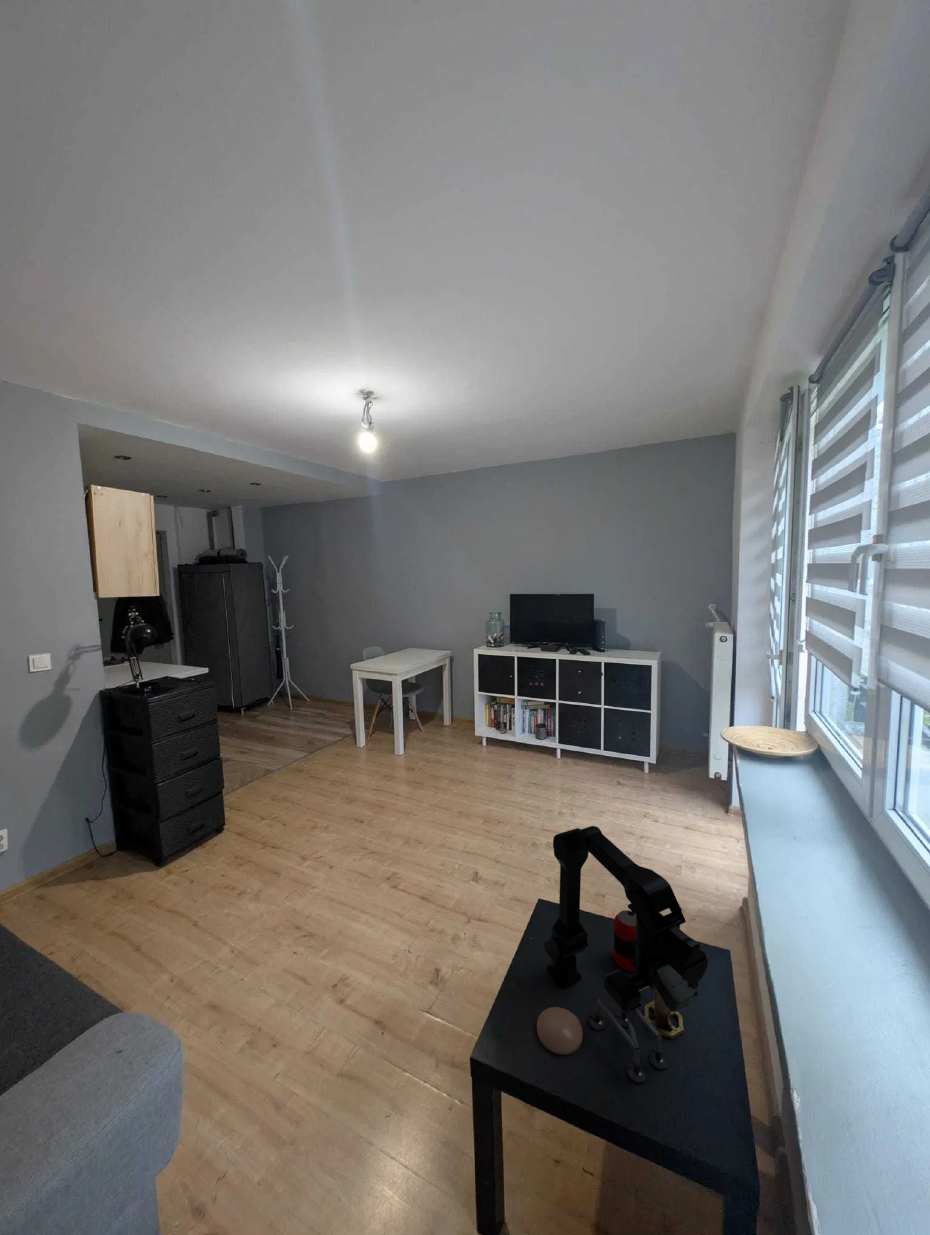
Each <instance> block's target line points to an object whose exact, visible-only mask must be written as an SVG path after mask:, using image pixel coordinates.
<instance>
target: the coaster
mask: <svg viewBox="0 0 930 1235" xmlns="http://www.w3.org/2000/svg"><path fill="white" fill-rule="evenodd" d="M536 1031H537V1032H536V1033H537V1036H538V1039H539V1041H540V1043H541V1044H542V1045H543V1047H544V1048H545V1049H546V1050H548V1051H550V1052H551V1053H554V1054H556V1055H562V1056H566V1055H567V1056H568V1055H570V1054H571V1055H572V1054H573V1053H575V1052H577V1050H578V1049H579V1048H580V1047H581V1045H582V1042H583V1027H582V1024H581V1022H580V1020H579V1019H578V1016H576V1015H575V1014H574V1013H572V1011H570V1010H568V1009H565V1008H563V1007H558V1006H554V1007H553V1006H552V1007H549V1008H546V1009H544V1010H543V1011H541V1013H540V1014H539V1016H538V1017H537V1021H536Z"/></svg>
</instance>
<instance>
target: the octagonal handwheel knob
mask: <svg viewBox="0 0 930 1235" xmlns="http://www.w3.org/2000/svg"><path fill="white" fill-rule="evenodd" d="M653 992H654V993H653V997H654V998H653V1000H652V1001H650V1002H649V1003H646V1004H645V1005H644V1017H645V1018H646V1019H647V1020H648V1021H649V1022H650V1023H651V1025H652V1026H653V1027H654V1028H655V1029H656V1030H657V1031H658V1032H659V1034H660V1035H661V1037H665V1038H668V1039H671V1040H673V1039H675V1038H677V1037H678V1036H680V1035H682V1034H683V1033H684V1024H683V1022H684V1021H683V1020H684V1019H683V1015H682V1014H680V1012H679V1010H678V1011H677V1012H672V1011H671V1010H670V1009H669V1008H668V1007H667V1006H666V1005H665V1003H664V1000H663V998H662V997H661V995H660V994H659V992H658V991H657V989H656V986H655V988H653ZM650 1011H652V1012H653V1016H654V1019H653V1020H651V1019H650V1018H649V1012H650ZM674 1017H675V1018H676V1019H677V1020H678V1027H675V1026H674V1025H673V1023H674ZM660 1025H662V1026H666V1027H667V1028H668V1029H669V1030H665V1029H662V1028H659V1027H658V1026H660Z"/></svg>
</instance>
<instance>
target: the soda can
mask: <svg viewBox="0 0 930 1235" xmlns="http://www.w3.org/2000/svg"><path fill="white" fill-rule="evenodd" d="M613 921H614V922H613V959H614V961H615V963H616V964H617V965H618V966H619V967H620V968H621V969H622V970H625V971H627V972H632V973H633V972H634V973H636V969H635V968H634V967H633V966H632V965H631V959H633V958H636V950H635V949H634V948H633V947H632V946H631V940H633V939H636V915H635V913H633V912H632V911H631V910H628V909H627V910H626V909H625V910H621V911H620V912H619V913H617V914H616V915H615V916H614V919H613Z"/></svg>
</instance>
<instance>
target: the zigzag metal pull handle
mask: <svg viewBox="0 0 930 1235" xmlns="http://www.w3.org/2000/svg"><path fill="white" fill-rule="evenodd" d="M601 1012H602V1013H603V1014H604V1015H605V1016H606V1017H607V1019H608V1020H609V1022H611V1023H612V1025H613V1026H614V1027H615V1029H616V1030H617V1031H618V1032H619V1033H620V1035H621V1036H622V1037H623V1039H625V1041H626V1042H627V1043H628V1045H629V1046H630V1047H631V1049H632V1050H633V1061H630V1062H629V1063H628V1064H627V1067H626V1068H627V1069H626V1071H627V1072H626V1073H627V1076H628V1077H629V1079H630V1080H631V1081H633V1082H634V1083H636V1084H643V1083H645V1081H646V1079H647V1071H646V1070H645V1067H644V1066H643V1064H641V1063H640V1062H641V1049H640V1046H639V1043H638V1038H637V1035H636V1034H637V1033H636V1031H635V1028H634V1027H635V1026H632V1025H631V1024H630V1022H629V1020H628V1018H627V1015H626V1013H625V1011H624V1010H622V1009H621V1008H620V1009H619V1010H617V1011H616V1012H615V1016H614V1015H613V1014H612V1013H611V1011H609V1009H608V1008H607V1007H606V1005H605V1004H604V1002H602V1001H601V999H600V998H597V997H596V998H595V999H594V1012H593V1013H591V1014H590V1015H589V1017H588V1021H589V1022H588V1023H589V1027H591V1028H592V1029H593V1030H595V1031H603V1030H604V1029H605V1028H606V1025H607V1024H606V1022H607V1021H606V1019H605V1017H604V1016H603V1015H602V1014H601ZM636 1018H638V1019H639V1020H640V1021H641V1023H642V1024H643V1025H644V1026H645V1027H646V1028H647V1030H649V1032H650V1033H651V1034H652V1035H653V1036H654V1037H655V1044H654V1045H655V1046H654V1047H655V1048H654V1049H651V1050H650V1051H649V1053H648V1059H649V1060H648V1061H649V1063H650V1065H652V1067H654V1068H655V1069H657V1070H660V1071H662V1070H665V1069H667V1068H668V1062H669V1060H668V1058H667V1056H666V1054H665V1052H663V1051H662V1049H663V1048H662V1047H663V1046H662V1043H663V1042H662V1040H663V1039H662V1037H663V1036H661V1035H660V1034H659V1032H658V1031H657V1030H656V1029H655V1028H654V1027H653V1026H652V1025H651V1023H650V1022H649V1021H648V1020H647V1019H646V1018H645V1015H643V1013H642V1012H641V1011H640V1010H639V1009H638V1008H637V1009H636ZM623 1027H624V1028H623ZM625 1028H628V1029H629V1033H630V1035H629V1033H628V1031H626V1030H625Z"/></svg>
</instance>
